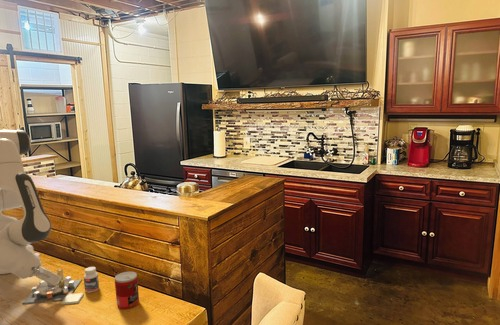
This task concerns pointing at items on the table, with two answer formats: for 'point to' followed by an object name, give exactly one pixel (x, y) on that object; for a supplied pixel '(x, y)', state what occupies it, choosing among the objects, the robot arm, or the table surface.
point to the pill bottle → (91, 279)
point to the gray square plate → (55, 298)
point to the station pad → (72, 298)
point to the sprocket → (53, 287)
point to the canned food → (126, 290)
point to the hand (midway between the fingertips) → (57, 280)
